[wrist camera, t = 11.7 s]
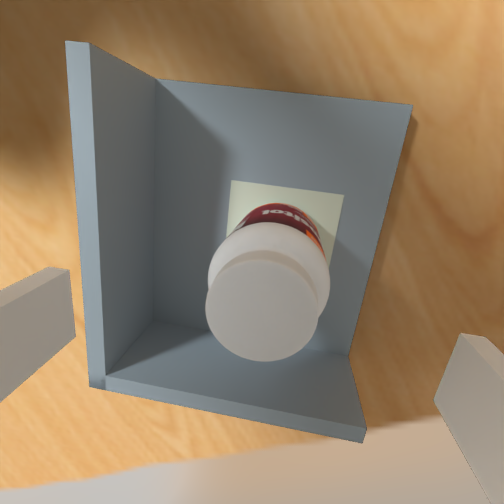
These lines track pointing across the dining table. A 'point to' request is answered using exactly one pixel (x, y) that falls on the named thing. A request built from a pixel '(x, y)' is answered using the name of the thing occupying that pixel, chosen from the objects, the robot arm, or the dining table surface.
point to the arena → (220, 232)
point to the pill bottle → (268, 284)
